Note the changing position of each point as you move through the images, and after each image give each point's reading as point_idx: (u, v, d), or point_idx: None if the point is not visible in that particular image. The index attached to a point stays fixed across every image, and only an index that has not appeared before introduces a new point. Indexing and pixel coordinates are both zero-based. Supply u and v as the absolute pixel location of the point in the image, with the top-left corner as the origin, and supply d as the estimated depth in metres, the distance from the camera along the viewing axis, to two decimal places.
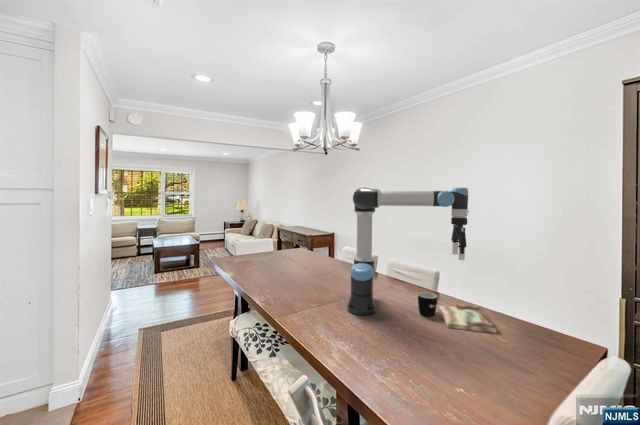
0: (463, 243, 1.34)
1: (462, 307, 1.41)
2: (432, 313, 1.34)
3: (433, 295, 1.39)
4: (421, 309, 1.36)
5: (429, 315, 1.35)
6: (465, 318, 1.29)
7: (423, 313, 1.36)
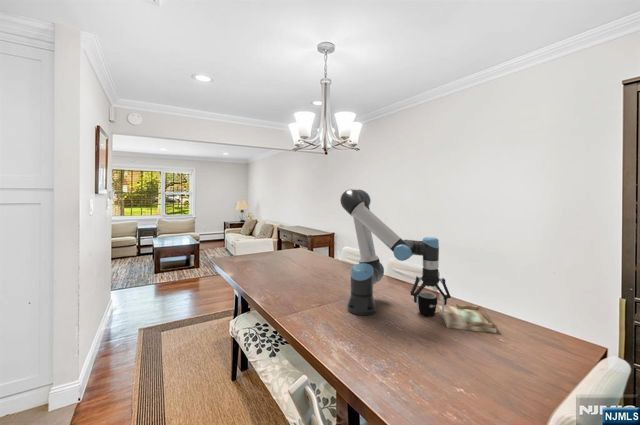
0: (411, 291, 1.40)
1: (462, 307, 1.41)
2: (432, 313, 1.34)
3: (433, 295, 1.39)
4: (421, 309, 1.36)
5: (429, 315, 1.35)
6: (465, 318, 1.29)
7: (423, 313, 1.36)
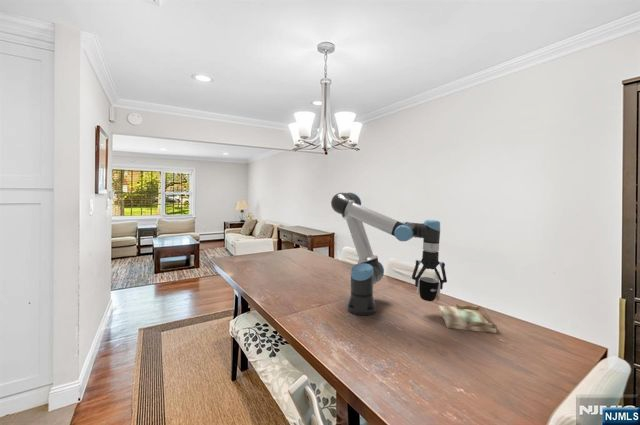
0: (412, 275, 1.40)
1: (462, 307, 1.41)
2: (433, 297, 1.34)
3: (435, 280, 1.39)
4: (422, 293, 1.36)
5: (430, 299, 1.34)
6: (465, 318, 1.29)
7: (424, 297, 1.35)
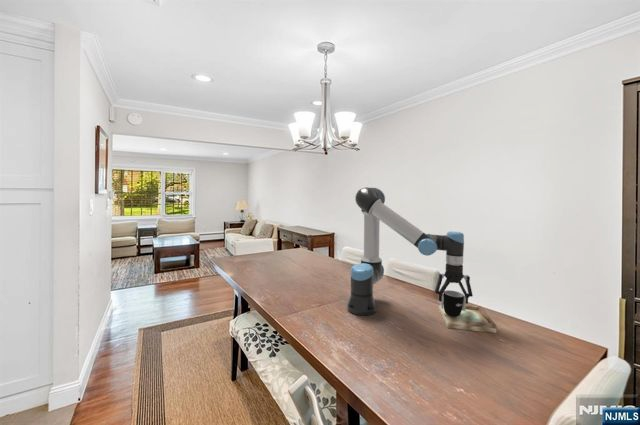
0: (435, 289, 1.35)
1: None
2: (458, 312, 1.29)
3: (459, 294, 1.33)
4: (447, 308, 1.30)
5: (455, 314, 1.29)
6: (465, 318, 1.29)
7: (449, 312, 1.30)
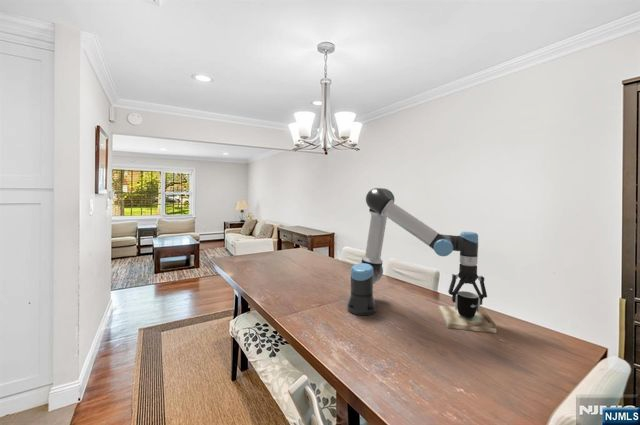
0: (449, 290, 1.33)
1: None
2: (473, 313, 1.27)
3: (473, 295, 1.32)
4: (461, 309, 1.29)
5: (470, 315, 1.27)
6: (465, 318, 1.29)
7: (463, 313, 1.28)
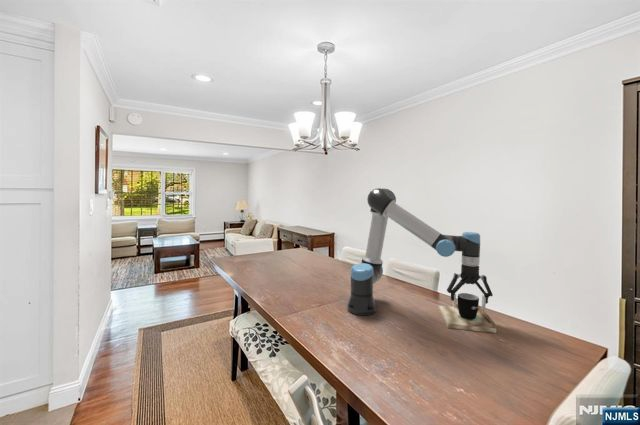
0: (448, 288, 1.33)
1: None
2: (474, 315, 1.27)
3: (473, 296, 1.32)
4: (462, 311, 1.29)
5: (471, 317, 1.27)
6: None
7: (464, 315, 1.28)
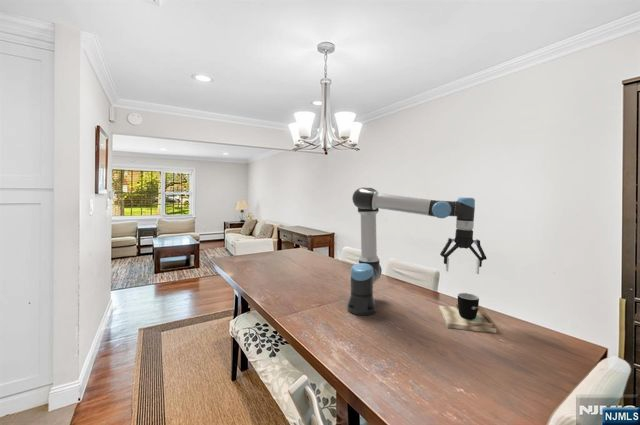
0: (441, 252, 1.35)
1: None
2: (474, 315, 1.27)
3: (473, 296, 1.32)
4: (462, 311, 1.29)
5: (471, 317, 1.27)
6: None
7: (464, 315, 1.28)
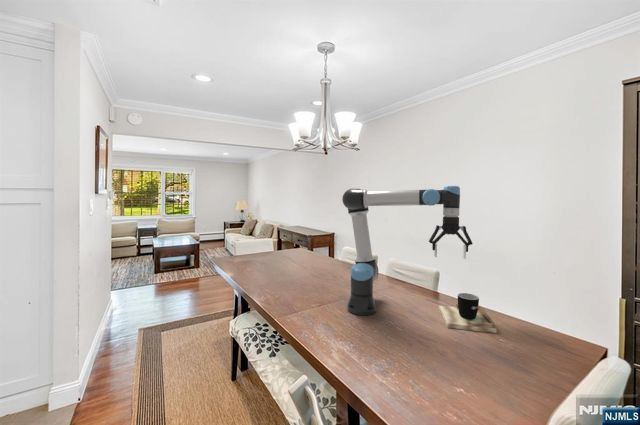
0: (430, 239, 1.41)
1: None
2: (474, 315, 1.27)
3: (473, 296, 1.32)
4: (462, 311, 1.29)
5: (471, 317, 1.27)
6: None
7: (464, 315, 1.28)
